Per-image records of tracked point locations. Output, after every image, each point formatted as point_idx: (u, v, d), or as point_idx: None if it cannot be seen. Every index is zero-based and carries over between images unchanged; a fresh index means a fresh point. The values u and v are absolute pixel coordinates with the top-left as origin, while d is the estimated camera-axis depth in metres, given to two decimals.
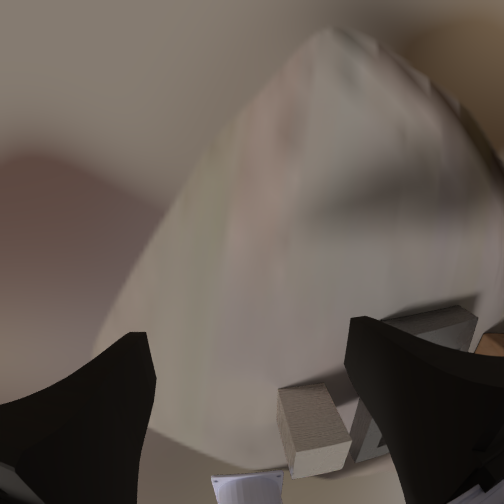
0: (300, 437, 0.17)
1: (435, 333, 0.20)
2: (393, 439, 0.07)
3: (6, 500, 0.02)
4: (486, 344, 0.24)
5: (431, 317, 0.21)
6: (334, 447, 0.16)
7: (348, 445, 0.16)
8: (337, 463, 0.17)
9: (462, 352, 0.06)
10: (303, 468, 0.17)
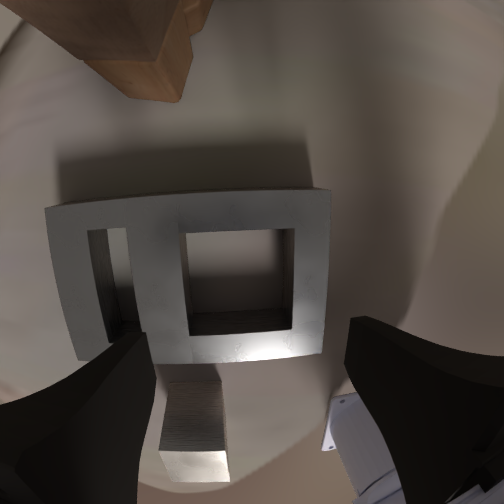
0: None
1: (64, 300, 0.15)
2: (393, 439, 0.07)
3: (6, 500, 0.02)
4: (134, 94, 0.14)
5: None
6: (167, 461, 0.14)
7: (168, 452, 0.14)
8: (207, 456, 0.14)
9: (462, 352, 0.06)
10: (206, 477, 0.15)
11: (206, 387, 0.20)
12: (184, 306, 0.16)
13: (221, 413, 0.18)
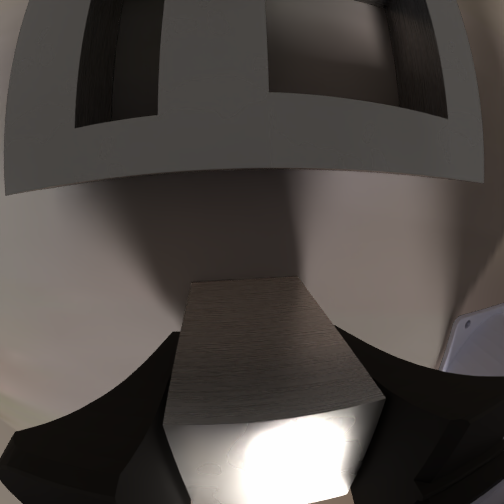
0: None
1: (18, 61, 0.05)
2: None
3: None
4: None
5: None
6: (190, 464, 0.05)
7: (195, 431, 0.04)
8: (325, 431, 0.05)
9: (419, 367, 0.06)
10: (295, 495, 0.05)
11: (270, 285, 0.10)
12: (264, 30, 0.06)
13: (326, 319, 0.08)
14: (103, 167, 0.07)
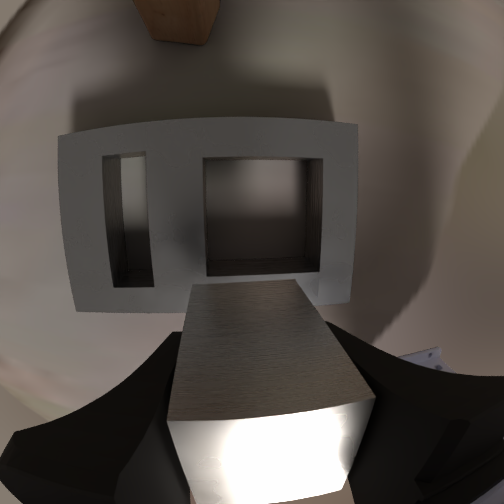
0: None
1: (67, 238, 0.14)
2: None
3: None
4: (161, 34, 0.13)
5: None
6: (192, 458, 0.05)
7: (197, 426, 0.05)
8: (319, 427, 0.05)
9: (419, 366, 0.06)
10: (291, 489, 0.06)
11: (269, 287, 0.11)
12: (203, 240, 0.15)
13: (321, 321, 0.08)
14: (131, 308, 0.15)
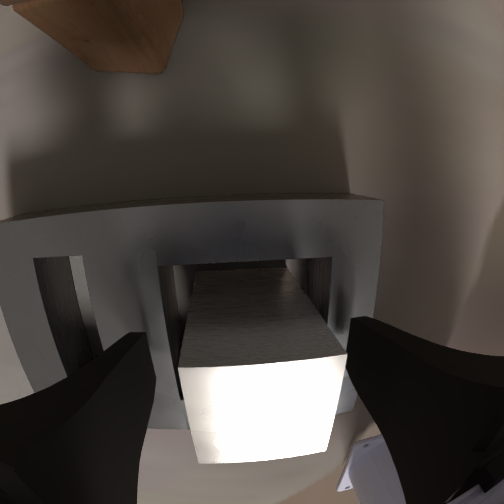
0: None
1: (18, 346, 0.10)
2: (393, 439, 0.07)
3: (6, 500, 0.02)
4: (99, 64, 0.09)
5: None
6: (196, 406, 0.07)
7: (202, 373, 0.06)
8: (300, 378, 0.07)
9: (461, 352, 0.06)
10: (280, 445, 0.07)
11: (263, 273, 0.13)
12: (171, 365, 0.11)
13: (306, 299, 0.10)
14: None
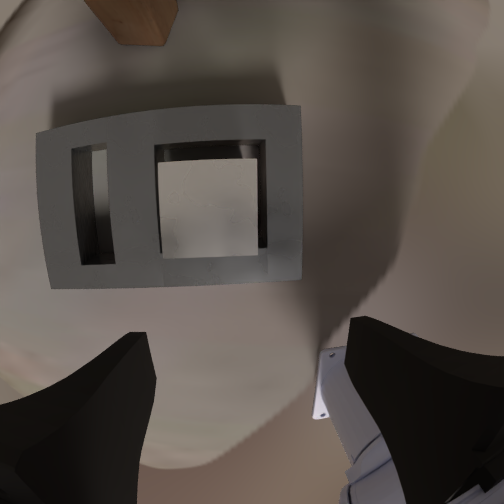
0: None
1: (43, 221, 0.15)
2: (393, 439, 0.07)
3: (6, 500, 0.02)
4: (124, 39, 0.14)
5: None
6: (165, 193, 0.12)
7: (171, 165, 0.11)
8: (228, 173, 0.12)
9: (462, 352, 0.06)
10: (221, 239, 0.12)
11: None
12: (156, 219, 0.16)
13: None
14: (96, 284, 0.16)
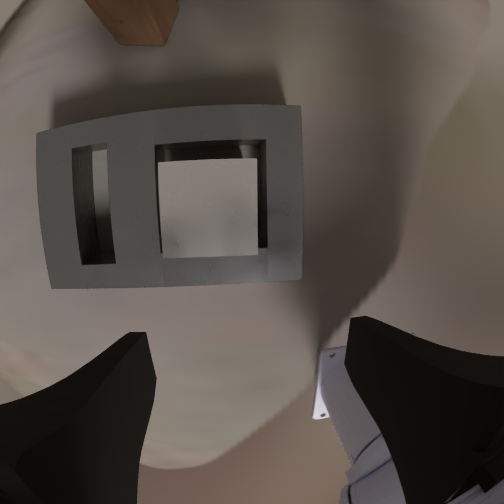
0: None
1: (43, 221, 0.15)
2: (393, 439, 0.07)
3: (6, 500, 0.02)
4: (125, 39, 0.14)
5: None
6: (165, 193, 0.12)
7: (171, 165, 0.11)
8: (228, 172, 0.12)
9: (462, 352, 0.06)
10: (221, 238, 0.12)
11: None
12: (156, 218, 0.16)
13: None
14: (97, 283, 0.16)
